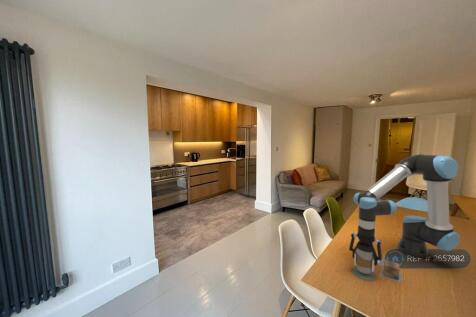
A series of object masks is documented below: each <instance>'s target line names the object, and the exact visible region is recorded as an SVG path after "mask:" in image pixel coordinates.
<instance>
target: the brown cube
mask: <svg viewBox="0 0 476 317" xmlns="http://www.w3.org/2000/svg"><path fill="white" fill-rule="evenodd" d="M384 260H385V261H384V264H383V268H384V276H386V277H389V278H393V279H396V280H399V274H400V265H399V263H398V262H395V261H394V262H393V261H390V260H388V259H384Z"/></svg>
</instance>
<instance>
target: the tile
mask: <svg viewBox="0 0 476 317" xmlns="http://www.w3.org/2000/svg"><path fill="white" fill-rule="evenodd" d="M373 258H374V257H373ZM385 260H386V259H384V258H382V260H381V261H379V260H378V261H377V266H379V267H382V268H384V261H385Z"/></svg>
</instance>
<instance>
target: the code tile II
mask: <svg viewBox="0 0 476 317" xmlns="http://www.w3.org/2000/svg"><path fill="white" fill-rule="evenodd" d="M379 276H381V277H383V278H386V279H388V280H391V281H392V282H396V283H399V284H401V283H402V280H403V274H401V273H399V280H396V279H393V278H389V277H386V276H384V267H382V268H381V270H380V272H379Z"/></svg>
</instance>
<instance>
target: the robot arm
mask: <svg viewBox="0 0 476 317" xmlns="http://www.w3.org/2000/svg"><path fill="white" fill-rule="evenodd" d="M458 172H459V166H458V162H457V161H456V160H455V159H454V158H452V157H450V156H445V155H437V154H435V155H434V154H433V155H432V154H413V155H411V156H408V157H406V158H404V159H402V160H400V161H399V162H398V163H396V164H395V165H394V167H393V168H392V169H391V170H390V171H389V172H388V173H386V174H385V175H384V176H383V177H381V178H380V179H379V180H378V181H376V182H375V183H373V184H372V185H371V186H370V187H369V188H367V189H366V190H365V191H363V192H357V193H355V194H354V195H353V197H352V199H353V202H354V203H355V204H356V205H358V223H357V224H358V226H357V233H355V232H351V234H350V236H351V240H350V243H349V248H348V250H349V251H351V252H352V258H353V260H354V261H353V264H354V266H357V247H356V246H357V244H356V245H355V247H354V244H355V240H356V238H357V239H358V241H359V242H358V241H357V243H359V244H361V242H362V243H363V244H367V245H369V247H374V244H373V243H375V245H376V249H375V247H374V250H373V257H374V258H373V260H372V268H371V271H372V272H373V273H374V272H375V267H377V266H378V265H377V261H378V260H379V261H381V260H382V259H383V255H382V240H378V239H376V237H375V233H376V231H375V230H376V229H375V228H376V217H377V216H390V215H394V214H396V212H397V211H398V206H397V203H395V201H393V200H390V199H385V200H383V199H380V198H381V197H383V196H384V195H386V193H388V192H389V191H390V190H392V188H394V187H396V186H397V185H398V184H399V183H400V182H402V181H403V180H405V178H410V177H411V176H413V175H417V174H418V175H422V181H423V180H424V182H426V197H427V199H426V200H427V217H428V218H426V217H424V216H418V215H405V216H404V217H403V221H402V233H401V237H400V240H399V242H398V244H397V248H398V250H399V251H401V252H402V253H404V254H406V255H409V256H410V257H411V256H412V257H416V258H428V256H429V249H428V246H427V244H430V245H432V246H434V247H436V248H438V249H440V250H443V251H447V252H449V251H452V250H454V249H456V247H458V245H459V244H460V241H461V236H460V234H459V233H457V232H456V231H454V226H453V225H452V224H451V223H450V208H449V207H450V203H449V202H450V201H449V183H451V182H452V180H453V179H454V178H455V177H457V175H458ZM372 249H373V248H372ZM376 251H377V252H376Z"/></svg>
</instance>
